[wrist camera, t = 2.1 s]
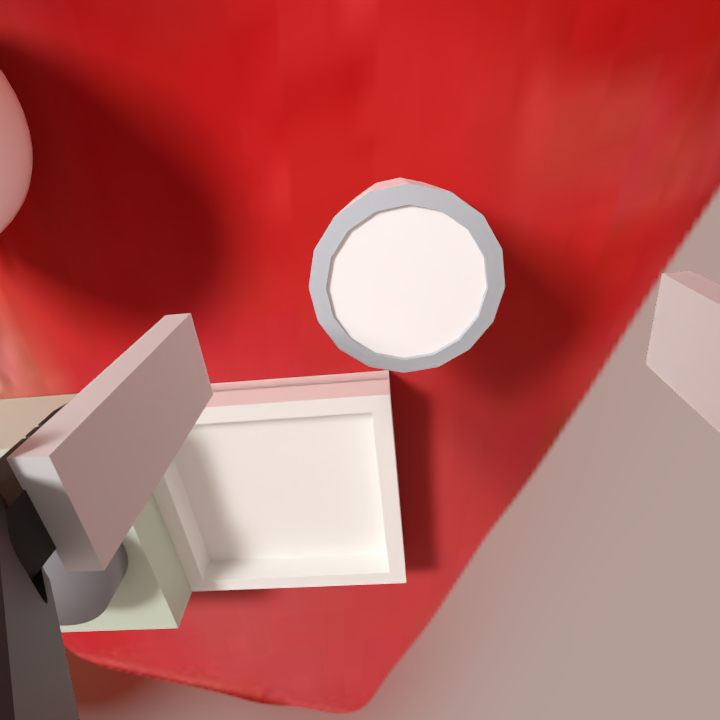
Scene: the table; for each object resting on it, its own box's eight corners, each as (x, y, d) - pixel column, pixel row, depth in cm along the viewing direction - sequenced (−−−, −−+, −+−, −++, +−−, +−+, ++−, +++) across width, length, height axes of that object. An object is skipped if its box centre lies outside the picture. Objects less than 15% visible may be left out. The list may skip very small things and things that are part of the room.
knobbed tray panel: (-6, 399, 28) (-116, 482, 22) (388, 370, 26) (392, 451, 20) (82, 565, 34) (17, 665, 28) (404, 550, 32) (410, 654, 26)
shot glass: (330, 307, 25) (313, 374, 18) (323, 163, 21) (301, 184, 15) (464, 307, 24) (494, 374, 18) (478, 162, 21) (519, 182, 15)
